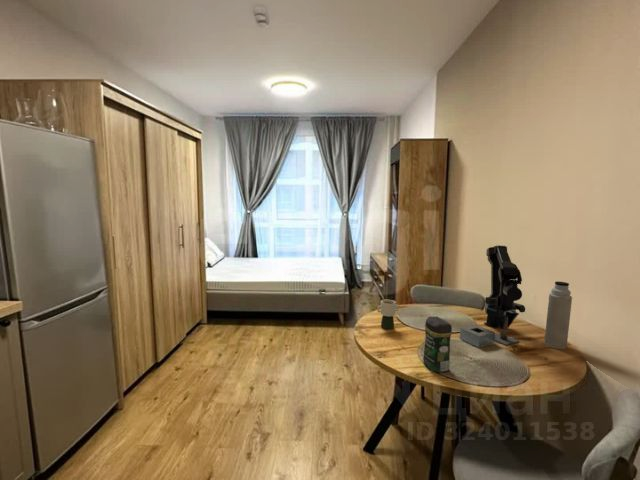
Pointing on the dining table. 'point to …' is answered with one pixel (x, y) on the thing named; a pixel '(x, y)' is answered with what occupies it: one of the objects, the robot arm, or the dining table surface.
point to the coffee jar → (437, 344)
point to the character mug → (388, 313)
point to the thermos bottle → (558, 316)
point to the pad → (505, 342)
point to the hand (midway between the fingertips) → (504, 328)
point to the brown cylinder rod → (504, 331)
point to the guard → (477, 335)
